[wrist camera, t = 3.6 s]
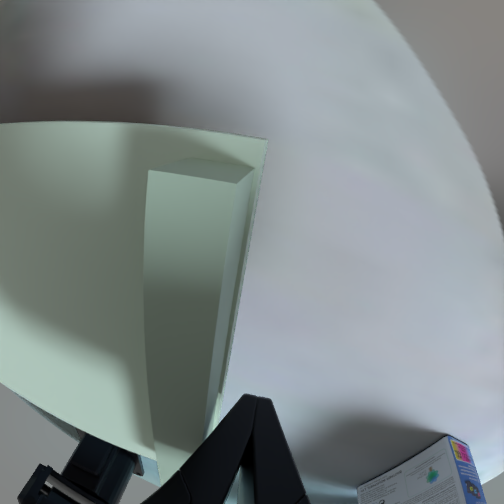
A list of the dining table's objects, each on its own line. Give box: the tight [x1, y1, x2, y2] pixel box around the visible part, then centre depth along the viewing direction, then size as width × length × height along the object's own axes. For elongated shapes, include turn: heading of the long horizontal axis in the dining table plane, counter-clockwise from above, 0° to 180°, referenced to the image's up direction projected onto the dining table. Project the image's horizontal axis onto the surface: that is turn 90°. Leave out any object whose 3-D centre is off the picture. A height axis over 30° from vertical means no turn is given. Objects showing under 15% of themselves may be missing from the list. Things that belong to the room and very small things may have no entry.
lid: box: [0, 121, 268, 486], centre depth 9 cm, size 14×17×3 cm
